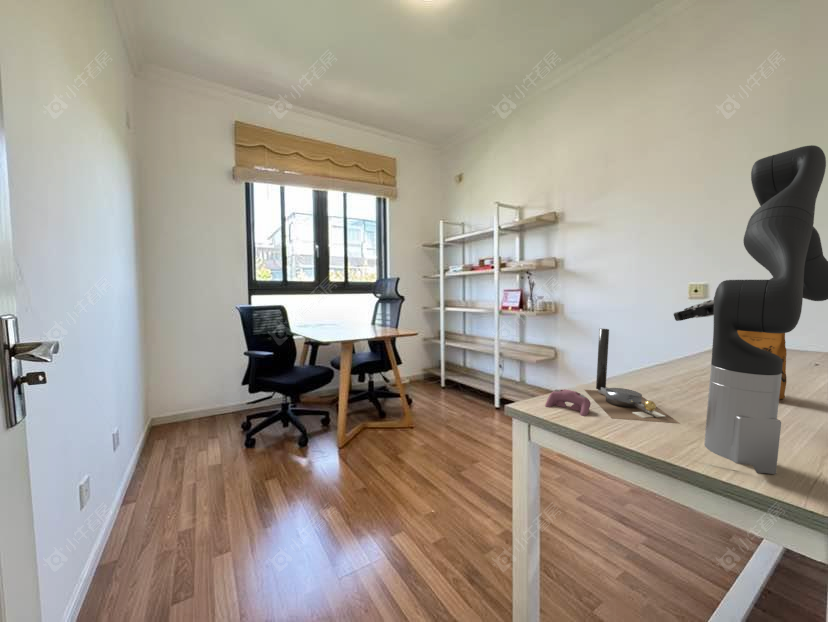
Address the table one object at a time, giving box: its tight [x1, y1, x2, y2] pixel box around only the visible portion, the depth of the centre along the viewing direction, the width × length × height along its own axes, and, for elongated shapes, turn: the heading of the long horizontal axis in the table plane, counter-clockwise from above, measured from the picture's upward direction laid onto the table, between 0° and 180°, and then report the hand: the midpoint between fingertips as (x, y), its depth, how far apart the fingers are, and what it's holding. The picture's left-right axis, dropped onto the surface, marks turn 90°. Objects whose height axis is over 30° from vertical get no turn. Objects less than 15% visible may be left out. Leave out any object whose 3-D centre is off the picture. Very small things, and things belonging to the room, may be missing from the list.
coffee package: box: [737, 330, 787, 400], centre depth 100 cm, size 10×12×22 cm
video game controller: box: [544, 388, 592, 417], centre depth 85 cm, size 10×5×7 cm, turn 49°
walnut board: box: [583, 389, 681, 424], centre depth 88 cm, size 22×14×2 cm, turn 169°
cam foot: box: [595, 328, 657, 413], centre depth 88 cm, size 18×8×18 cm, turn 11°
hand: (676, 316), depth 89 cm, fingers closed
